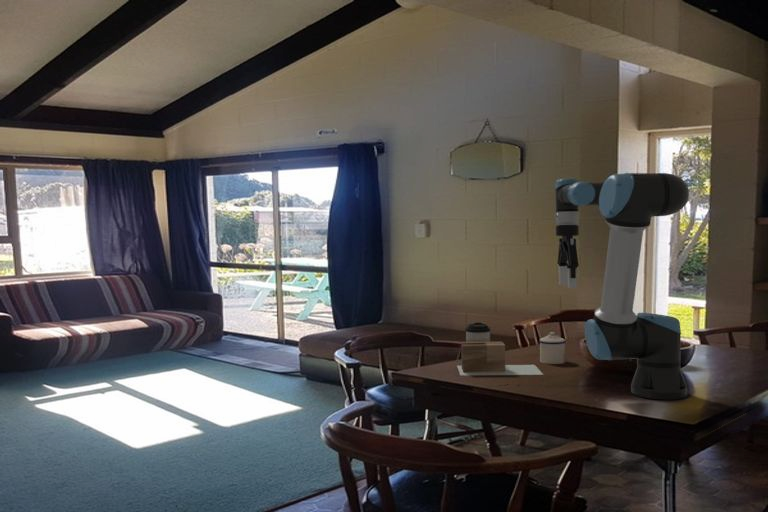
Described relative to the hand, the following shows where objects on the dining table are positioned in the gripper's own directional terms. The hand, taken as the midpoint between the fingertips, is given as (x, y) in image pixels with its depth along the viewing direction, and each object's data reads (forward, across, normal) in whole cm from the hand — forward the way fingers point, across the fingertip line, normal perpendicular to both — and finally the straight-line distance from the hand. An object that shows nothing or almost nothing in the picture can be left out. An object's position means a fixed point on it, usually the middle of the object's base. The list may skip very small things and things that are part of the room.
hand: (567, 286), depth 231 cm
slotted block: (+28, +5, -30) cm, 41 cm away
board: (+29, +5, -24) cm, 38 cm away
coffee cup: (+29, -9, -30) cm, 43 cm away
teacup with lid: (+29, -10, -4) cm, 31 cm away
